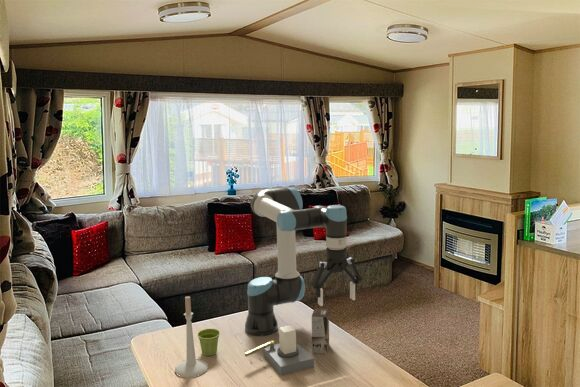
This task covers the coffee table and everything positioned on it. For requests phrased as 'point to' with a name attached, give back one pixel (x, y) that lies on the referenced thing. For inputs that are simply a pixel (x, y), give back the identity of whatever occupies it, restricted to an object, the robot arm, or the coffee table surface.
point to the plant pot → (208, 341)
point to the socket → (288, 360)
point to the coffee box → (320, 330)
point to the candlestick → (190, 350)
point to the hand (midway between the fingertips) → (336, 302)
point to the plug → (287, 342)
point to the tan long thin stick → (260, 347)
